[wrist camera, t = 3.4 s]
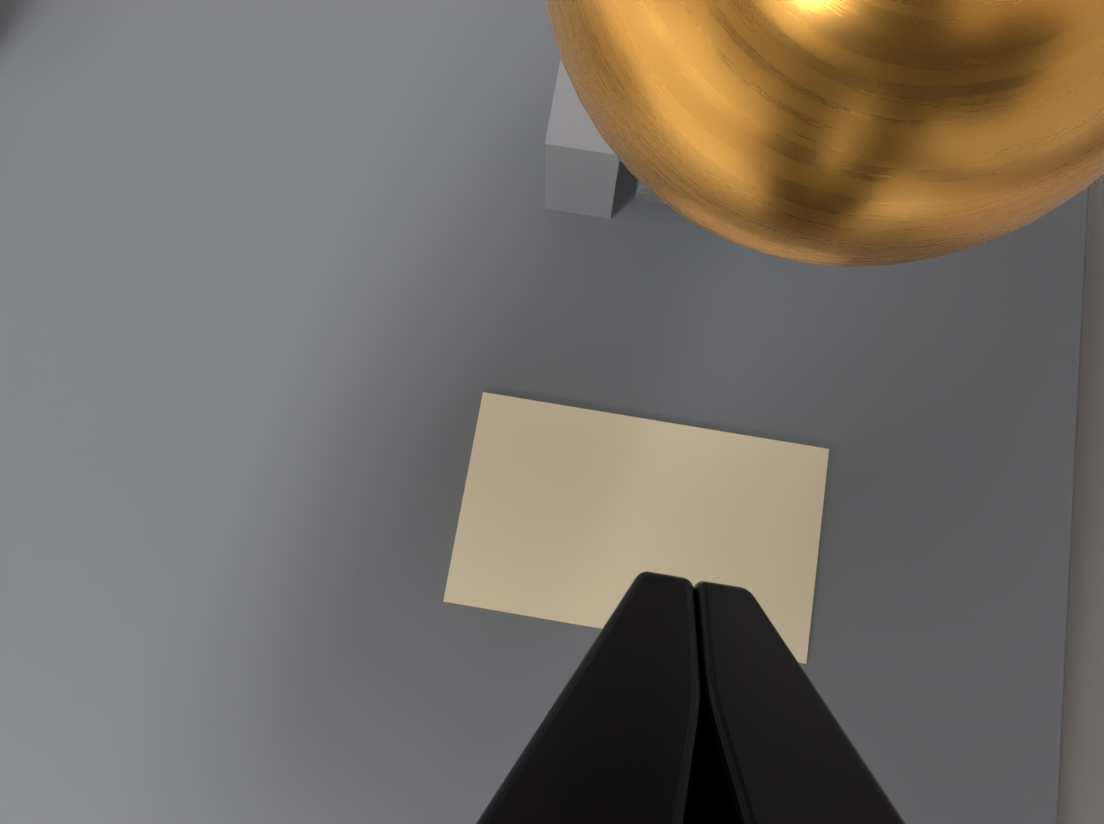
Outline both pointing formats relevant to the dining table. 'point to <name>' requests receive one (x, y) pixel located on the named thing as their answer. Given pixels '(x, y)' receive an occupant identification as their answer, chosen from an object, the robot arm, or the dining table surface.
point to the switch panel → (472, 429)
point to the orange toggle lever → (845, 116)
